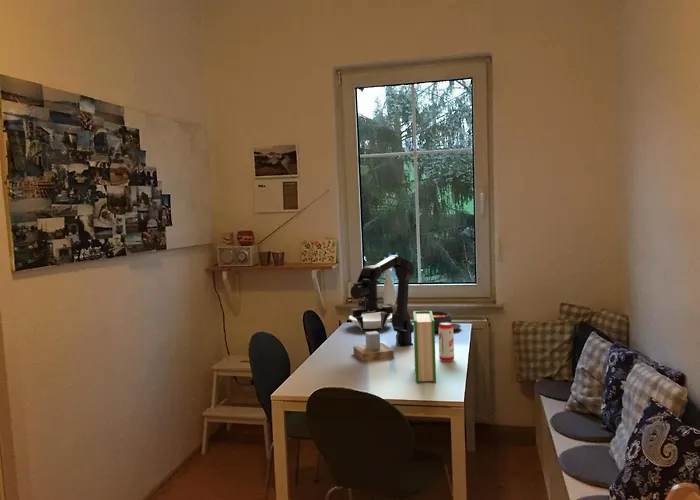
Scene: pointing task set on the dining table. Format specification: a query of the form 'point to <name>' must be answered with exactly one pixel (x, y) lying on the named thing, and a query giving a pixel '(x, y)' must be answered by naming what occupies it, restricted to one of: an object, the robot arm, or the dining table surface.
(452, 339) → the beer can
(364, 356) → the brown block
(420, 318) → the hardback book
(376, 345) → the grey block
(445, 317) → the casserole
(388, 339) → the dining table surface
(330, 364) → the dining table surface
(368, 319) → the soup bowl
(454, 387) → the dining table surface
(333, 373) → the dining table surface
